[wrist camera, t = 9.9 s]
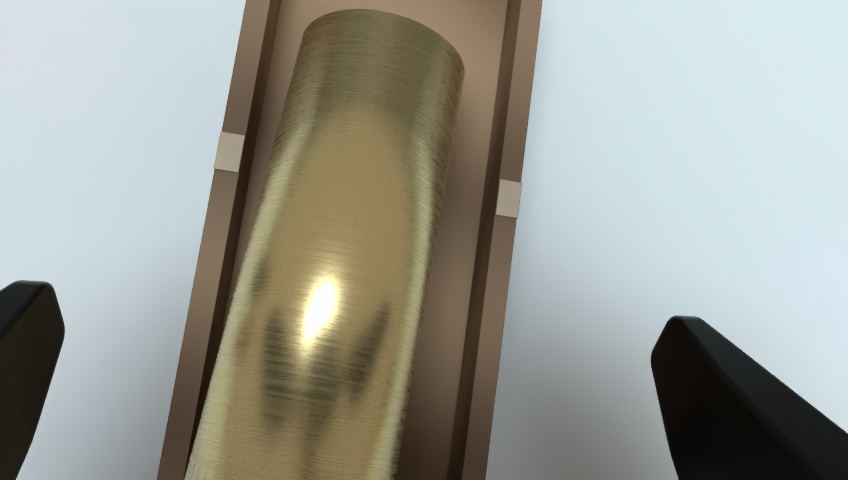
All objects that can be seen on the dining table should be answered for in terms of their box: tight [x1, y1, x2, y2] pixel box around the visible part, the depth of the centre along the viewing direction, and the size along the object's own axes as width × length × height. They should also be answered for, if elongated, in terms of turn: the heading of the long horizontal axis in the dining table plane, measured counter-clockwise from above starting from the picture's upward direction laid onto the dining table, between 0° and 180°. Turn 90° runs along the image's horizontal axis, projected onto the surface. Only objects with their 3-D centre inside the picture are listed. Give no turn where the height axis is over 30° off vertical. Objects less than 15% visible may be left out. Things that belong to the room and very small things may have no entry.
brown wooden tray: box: [157, 0, 542, 480], centre depth 15 cm, size 15×7×3 cm, turn 172°
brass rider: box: [184, 9, 465, 480], centre depth 12 cm, size 4×4×10 cm
